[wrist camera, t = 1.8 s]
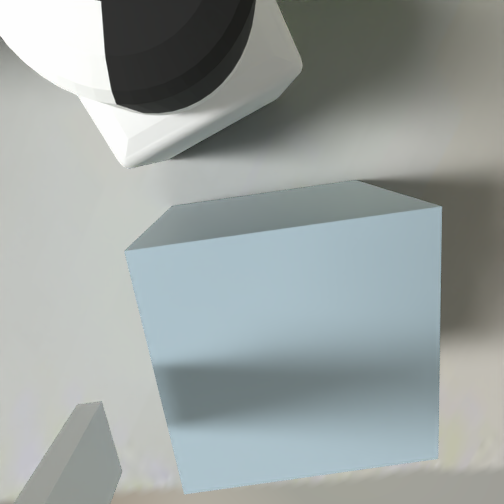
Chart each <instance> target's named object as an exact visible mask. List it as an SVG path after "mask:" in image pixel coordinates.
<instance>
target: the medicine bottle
mask: <svg viewBox="0 0 504 504" xmlns="http://www.w3.org/2000/svg"><path fill="white" fill-rule="evenodd" d="M0 36H1V37H2V39H3V40H4V41H5V43H6V44H7V45H8V46H9V47H10V48H11V49H12V50H13V51H14V52H15V53H16V54H17V55H18V56H19V57H20V58H21V59H22V61H23V62H25V63H26V64H27V65H28V66H30V67H31V68H32V69H33V70H35V71H36V72H37V73H38V74H39V75H41V76H42V77H44V78H45V79H47V80H49V81H50V82H52V83H53V84H55V85H57V86H58V87H60V88H62V89H65V90H67V91H69V92H71V93H73V94H76V95H78V97H79V98H80V100H81V102H82V103H83V105H84V106H85V108H86V110H87V111H88V113H89V114H90V116H91V118H92V119H93V121H94V123H95V124H96V126H97V127H98V129H99V131H100V132H101V134H102V135H103V137H104V139H105V140H106V142H107V144H108V145H109V147H110V148H111V150H112V152H113V153H114V155H115V156H116V158H117V160H118V161H119V163H120V164H121V165H122V166H123V167H125V168H129V169H130V168H134V167H139V166H143V165H148V164H152V163H156V162H161V161H165V160H168V159H170V158H172V157H174V156H176V155H177V154H179V153H181V152H183V151H185V150H186V149H188V148H190V147H192V146H193V145H195V144H197V143H199V142H201V141H202V140H204V139H206V138H208V137H210V136H211V135H213V134H215V133H217V132H219V131H220V130H222V129H224V128H226V127H227V126H229V125H231V124H233V123H235V122H236V121H238V120H240V119H242V118H244V117H245V116H247V115H249V114H251V113H253V112H254V111H256V110H258V109H260V108H261V107H263V106H265V105H267V104H269V103H270V102H272V101H274V100H276V99H277V98H278V97H279V96H280V95H281V94H282V93H283V92H284V91H285V90H286V88H287V87H288V86H289V85H290V84H291V83H292V82H293V80H294V79H295V78H296V77H297V76H298V75H299V74H300V73H301V70H302V67H303V64H302V59H301V57H300V55H299V52H298V50H297V48H296V45H295V43H294V41H293V38H292V36H291V34H290V32H289V29H288V27H287V25H286V22H285V20H284V18H283V15H282V13H281V11H280V9H279V6H278V4H277V2H276V0H0Z"/></svg>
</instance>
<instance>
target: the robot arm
mask: <svg viewBox="0 0 504 504" xmlns="http://www.w3.org/2000/svg"><path fill="white" fill-rule="evenodd" d="M121 473H122V469H121V466H120V462H119V459H118V456H117V452H116V449H115V445H114V442H113V438H112V435H111V432H110V428H109V425H108V421H107V418H106V415H105V411H104V408H103V404H102V401H100V402H93V403H86V404H78V405H77V406H76V407H75V409H74V410H73V412H72V414H71V415H70V417H69V418H68V420H67V421H66V423H65V424H64V426H63V428H62V429H61V431H60V432H59V434H58V435H57V437H56V438H55V440H54V442H53V443H52V445H51V446H50V448H49V449H48V451H47V452H46V454H45V456H44V457H43V459H42V460H41V462H40V463H39V465H38V466H37V468H36V470H35V471H34V473H33V474H32V476H31V477H30V479H29V480H28V482H27V484H26V485H25V487H24V488H23V490H22V491H21V493H20V494H19V496H18V498H17V499H16V501H15V502H14V504H110V503H111V500H112V498H113V495H114V492H115V490H116V487H117V484H118V482H119V479H120V476H121Z"/></svg>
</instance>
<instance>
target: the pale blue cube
mask: <svg viewBox="0 0 504 504" xmlns="http://www.w3.org/2000/svg"><path fill="white" fill-rule="evenodd" d="M441 238H442V206H439V205H436V204H433V203H429V202H426V201H423V200H420V199H416V198H413V197H410V196H406V195H403V194H400V193H397V192H393V191H390V190H387V189H383V188H380V187H377V186H374V185H370V184H367V183H364V182H360V181H357V180H353V181H346V182H339V183H332V184H325V185H318V186H311V187H304V188H296V189H289V190H282V191H275V192H268V193H261V194H254V195H247V196H240V197H233V198H226V199H218V200H211V201H204V202H197V203H190V204H183V205H176V206H171V207H170V208H169V209H168V210H167V211H166V212H165V213H164V214H163V215H162V216H161V217H160V218H159V219H158V220H157V221H156V222H155V223H153V224H152V225H151V226H150V227H149V228H148V229H147V230H146V231H145V232H144V233H143V234H142V235H141V236H140V237H139V238H138V239H137V240H136V241H134V242H133V243H132V244H131V245H130V246H129V247H128V248H127V249H126V250H125V251H124V252H125V256H126V260H127V264H128V268H129V272H130V276H131V280H132V284H133V288H134V292H135V296H136V300H137V304H138V308H139V312H140V316H141V321H142V325H143V329H144V333H145V337H146V341H147V345H148V349H149V353H150V357H151V361H152V365H153V369H154V373H155V377H156V381H157V385H158V389H159V394H160V398H161V402H162V406H163V410H164V414H165V418H166V422H167V426H168V430H169V434H170V438H171V442H172V446H173V450H174V454H175V458H176V462H177V467H178V471H179V475H180V479H181V483H182V487H183V491H184V494H189V493H197V492H204V491H211V490H218V489H225V488H233V487H240V486H247V485H254V484H261V483H268V482H276V481H283V480H290V479H297V478H304V477H311V476H318V475H326V474H333V473H340V472H347V471H354V470H361V469H368V468H376V467H383V466H390V465H397V464H404V463H411V462H419V461H426V460H433V459H438V436H439V370H440V304H441Z"/></svg>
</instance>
